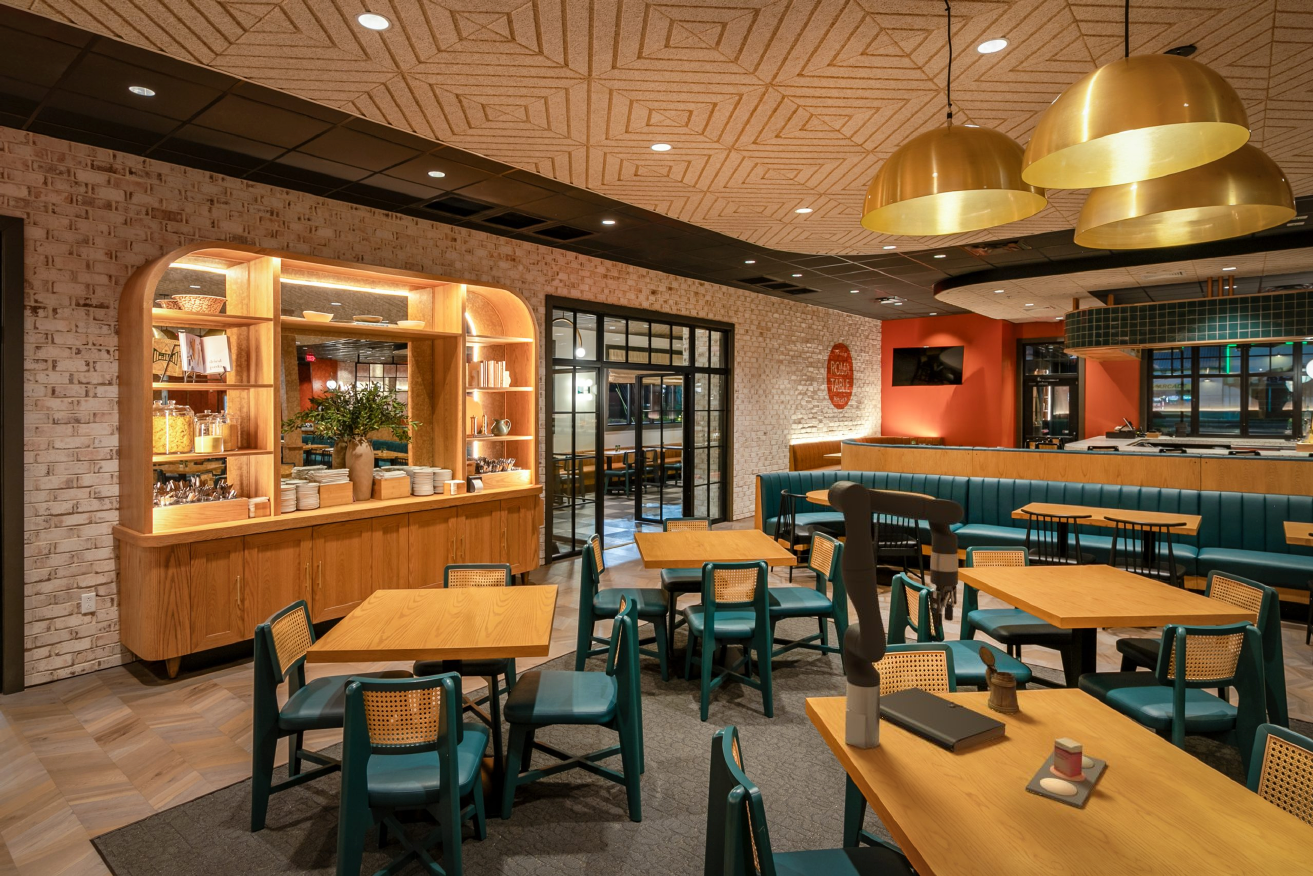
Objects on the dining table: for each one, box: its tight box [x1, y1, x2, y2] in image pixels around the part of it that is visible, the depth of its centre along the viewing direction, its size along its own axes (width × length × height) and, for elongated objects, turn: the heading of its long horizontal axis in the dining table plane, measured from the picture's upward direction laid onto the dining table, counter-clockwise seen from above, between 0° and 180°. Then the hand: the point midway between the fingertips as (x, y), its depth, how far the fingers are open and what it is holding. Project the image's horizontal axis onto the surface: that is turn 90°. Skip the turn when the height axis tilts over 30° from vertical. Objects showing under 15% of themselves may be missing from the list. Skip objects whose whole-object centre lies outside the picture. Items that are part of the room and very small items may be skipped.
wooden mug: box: [978, 644, 1020, 715], centre depth 227 cm, size 9×14×18 cm, turn 24°
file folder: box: [880, 686, 1007, 753], centre depth 214 cm, size 33×4×24 cm
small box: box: [1053, 736, 1083, 777], centre depth 181 cm, size 5×4×8 cm
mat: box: [1025, 750, 1107, 809], centre depth 181 cm, size 30×12×1 cm, turn 137°
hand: (943, 623), depth 204 cm, fingers open, 8 cm apart
